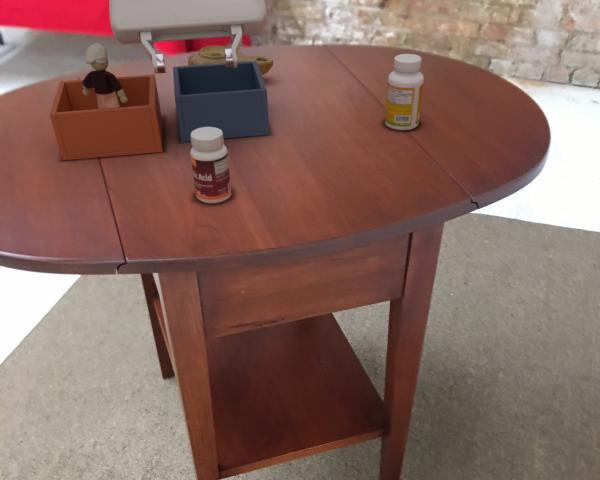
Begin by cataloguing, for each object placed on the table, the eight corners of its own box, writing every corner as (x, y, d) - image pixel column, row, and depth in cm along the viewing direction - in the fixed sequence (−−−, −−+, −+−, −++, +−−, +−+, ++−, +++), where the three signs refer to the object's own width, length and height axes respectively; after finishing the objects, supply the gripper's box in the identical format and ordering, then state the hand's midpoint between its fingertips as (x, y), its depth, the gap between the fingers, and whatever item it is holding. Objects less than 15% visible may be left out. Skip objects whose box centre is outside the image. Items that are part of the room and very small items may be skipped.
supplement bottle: (403, 115, 103) (410, 49, 96) (425, 125, 100) (434, 58, 93) (377, 122, 101) (382, 56, 94) (399, 134, 98) (405, 66, 91)
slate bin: (181, 142, 97) (174, 97, 92) (179, 108, 107) (172, 66, 102) (269, 134, 98) (266, 90, 94) (259, 102, 108) (256, 60, 103)
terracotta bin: (62, 160, 93) (49, 114, 89) (71, 124, 103) (59, 81, 98) (162, 152, 95) (154, 106, 90) (161, 117, 104) (154, 74, 100)
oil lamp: (276, 84, 114) (275, 53, 111) (198, 94, 111) (194, 64, 107) (260, 65, 121) (258, 36, 118) (186, 75, 118) (182, 45, 115)
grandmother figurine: (142, 130, 99) (125, 40, 90) (132, 140, 96) (114, 49, 87) (96, 127, 100) (75, 38, 91) (86, 136, 98) (62, 46, 89)
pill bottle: (188, 197, 84) (179, 134, 79) (213, 184, 87) (205, 122, 81) (215, 208, 82) (207, 144, 76) (239, 193, 85) (233, 130, 79)
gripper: (96, -50, 79) (110, 61, 79) (259, -59, 81) (273, 49, 81) (106, -16, 85) (120, 86, 85) (257, -26, 87) (270, 75, 87)
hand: (196, 68), depth 83 cm, fingers open, 8 cm apart
